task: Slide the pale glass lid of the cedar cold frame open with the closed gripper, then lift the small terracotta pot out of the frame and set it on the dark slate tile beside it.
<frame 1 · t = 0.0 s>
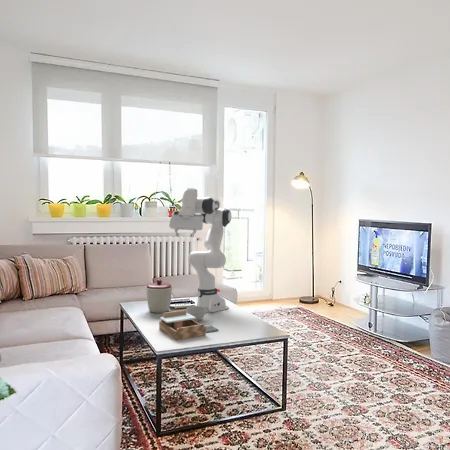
hand: (184, 236, 258), 52 cm above the table, tool tilted 20°, fingers open, 8 cm apart
tile: (208, 329, 251), on the table
cold frame: (181, 331, 246), on the table
lid: (178, 315, 250), point 8 cm above the table, slide at 0.0 cm
teacup: (197, 320, 271), on the table
pot: (178, 329, 251), resting in cold frame
canister: (159, 311, 290), on the table
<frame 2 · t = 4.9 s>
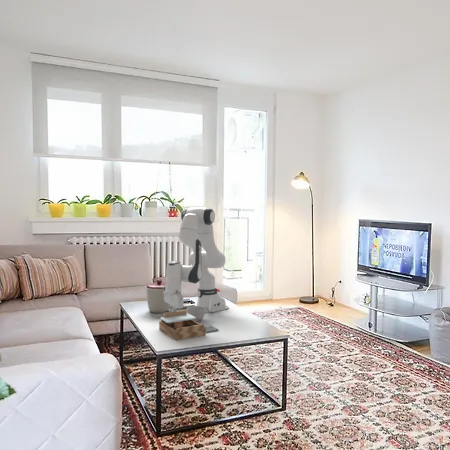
hand: (173, 312, 255), 8 cm above the table, tool pointing down, fingers closed
lid: (178, 316, 250), point 8 cm above the table, slide at 0.3 cm, touching gripper
everything else where it was.
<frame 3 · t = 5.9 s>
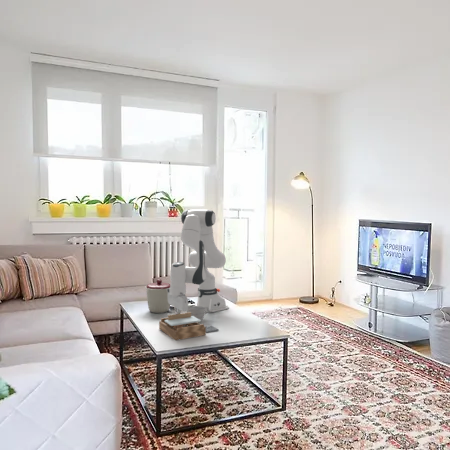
hand: (177, 315, 250), 8 cm above the table, tool pointing down, fingers closed
lid: (182, 318, 245), point 8 cm above the table, slide at 6.1 cm, touching gripper
everything else where it was.
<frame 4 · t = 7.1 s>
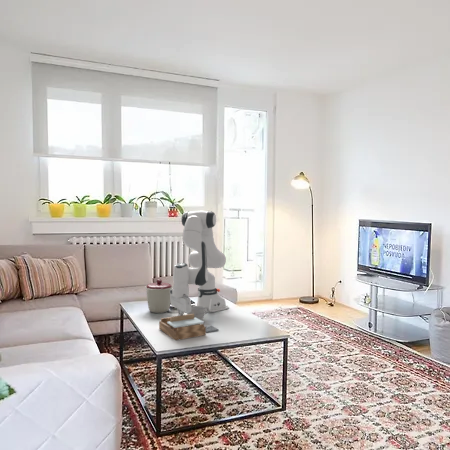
hand: (180, 316, 247), 8 cm above the table, tool pointing down, fingers closed
lid: (185, 320, 242), point 8 cm above the table, slide at 9.8 cm, touching gripper
everything else where it was.
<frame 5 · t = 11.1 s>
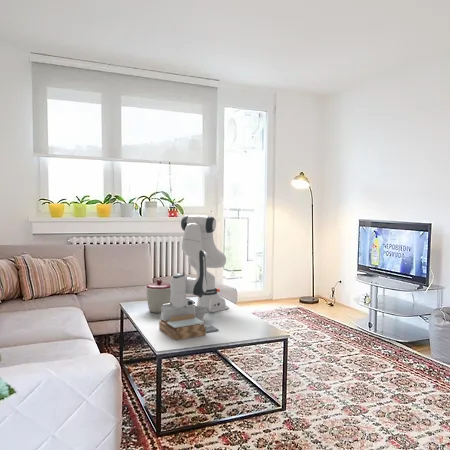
hand: (178, 326, 251), 2 cm above the table, tool pointing down, fingers closed on pot, 5 cm apart
lid: (185, 320, 242), point 8 cm above the table, slide at 9.8 cm
pot: (178, 329, 251), resting in cold frame, touching gripper
everything else where it was.
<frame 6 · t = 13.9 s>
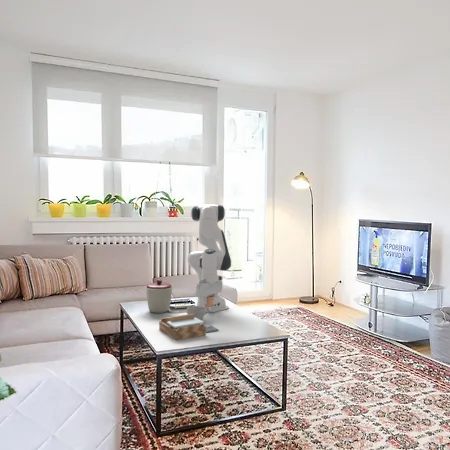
hand: (209, 302, 250), 16 cm above the table, tool pointing down, fingers closed on pot, 5 cm apart
pot: (209, 305, 250), point 14 cm above the table, touching gripper
everything else where it was.
when the fingers open (4 cm above the table, at t = 16.6 s): pot moves 1 cm, resting on tile.
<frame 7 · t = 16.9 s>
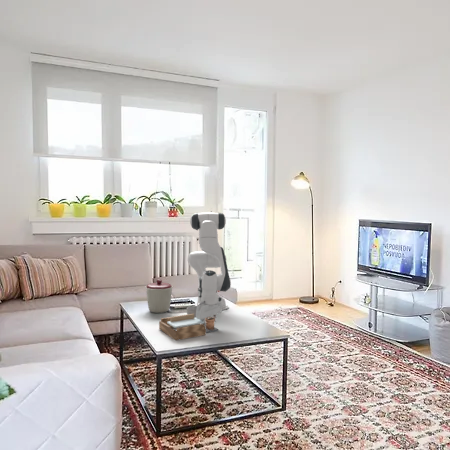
hand: (209, 323, 251), 4 cm above the table, tool pointing down, fingers open, 8 cm apart
lid: (185, 320, 242), point 8 cm above the table, slide at 9.8 cm, touching gripper
pot: (210, 328, 252), point 1 cm above the table, touching gripper, tile
everything else where it was.
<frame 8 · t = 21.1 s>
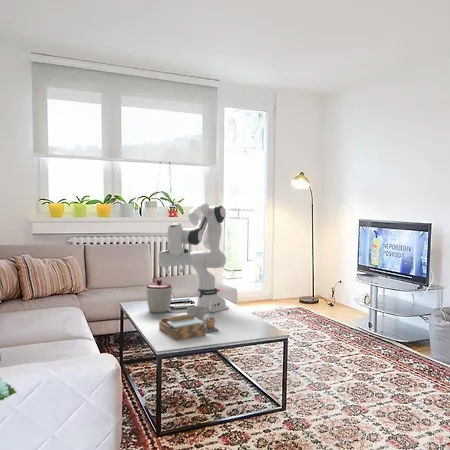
hand: (174, 273, 267), 29 cm above the table, tool pointing down, fingers open, 8 cm apart
lid: (185, 320, 242), point 8 cm above the table, slide at 9.7 cm
pot: (210, 327, 252), point 1 cm above the table, touching tile
everything else where it was.
at the end: pot inside the target area on the tile (1.3 cm from its centre), point 0.8 cm above the tile's base; pot tilted 0°; lid slide at 9.7 cm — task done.
